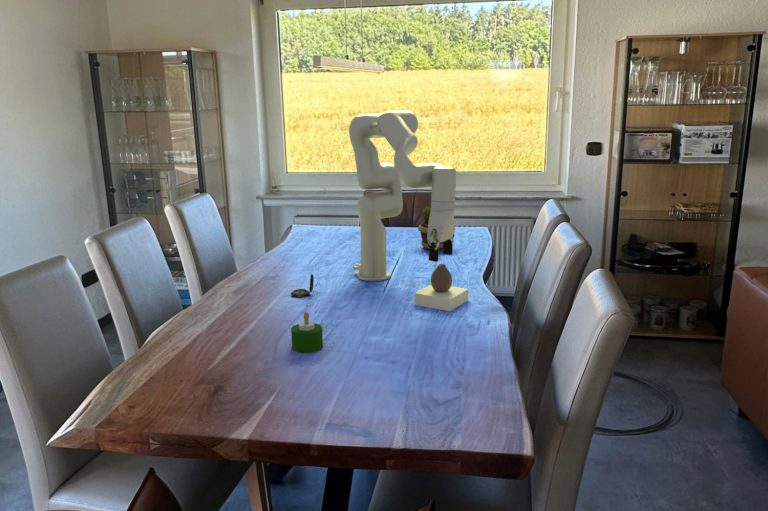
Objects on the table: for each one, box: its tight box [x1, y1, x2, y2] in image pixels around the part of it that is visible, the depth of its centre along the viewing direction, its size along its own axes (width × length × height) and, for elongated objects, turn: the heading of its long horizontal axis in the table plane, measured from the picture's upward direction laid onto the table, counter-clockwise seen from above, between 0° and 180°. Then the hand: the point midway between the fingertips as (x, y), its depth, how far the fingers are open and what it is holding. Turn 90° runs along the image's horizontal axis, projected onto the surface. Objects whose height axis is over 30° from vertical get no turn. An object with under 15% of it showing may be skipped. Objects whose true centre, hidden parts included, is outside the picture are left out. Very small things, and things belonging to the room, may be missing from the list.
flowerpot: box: [417, 205, 445, 251], centre depth 278 cm, size 14×15×20 cm
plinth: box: [413, 284, 469, 312], centre depth 204 cm, size 13×13×4 cm
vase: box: [430, 263, 453, 293], centre depth 203 cm, size 7×7×9 cm
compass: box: [290, 273, 315, 298], centre depth 212 cm, size 8×8×7 cm
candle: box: [290, 311, 324, 354], centre depth 167 cm, size 8×8×10 cm
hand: (440, 257), depth 202 cm, fingers open, 9 cm apart
